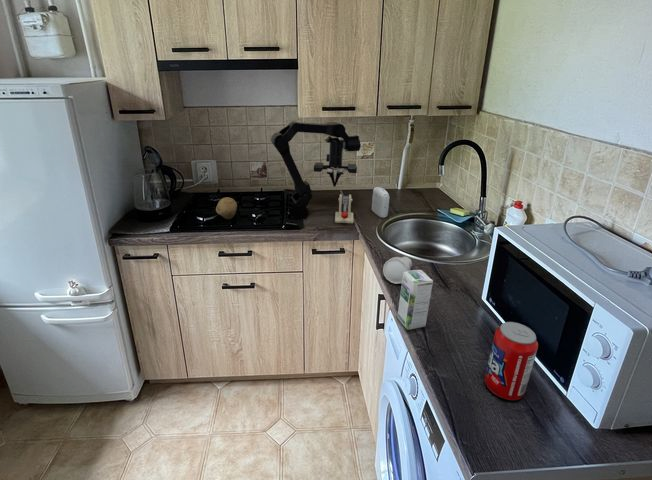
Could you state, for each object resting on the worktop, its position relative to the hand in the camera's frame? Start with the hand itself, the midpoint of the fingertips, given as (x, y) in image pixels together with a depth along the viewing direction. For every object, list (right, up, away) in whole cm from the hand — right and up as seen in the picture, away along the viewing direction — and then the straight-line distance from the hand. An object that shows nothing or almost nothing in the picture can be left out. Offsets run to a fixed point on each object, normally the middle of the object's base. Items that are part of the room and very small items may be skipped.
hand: (334, 186), depth 170 cm
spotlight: (+17, -32, -46) cm, 59 cm away
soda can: (+30, -48, -88) cm, 105 cm away
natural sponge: (-47, -15, -3) cm, 50 cm away
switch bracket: (+4, -15, -1) cm, 15 cm away
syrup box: (+16, -40, -68) cm, 80 cm away
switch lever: (+4, -10, -7) cm, 13 cm away
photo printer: (+21, -13, +5) cm, 25 cm away
